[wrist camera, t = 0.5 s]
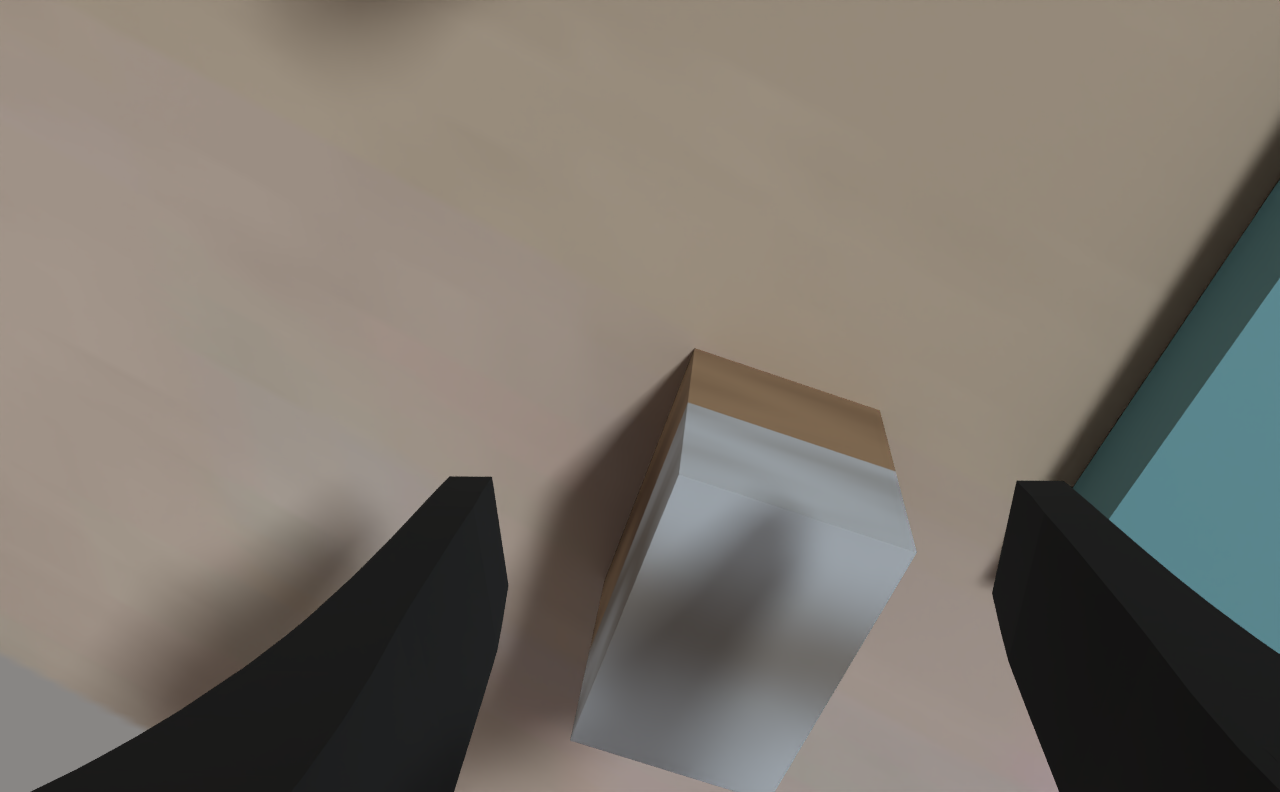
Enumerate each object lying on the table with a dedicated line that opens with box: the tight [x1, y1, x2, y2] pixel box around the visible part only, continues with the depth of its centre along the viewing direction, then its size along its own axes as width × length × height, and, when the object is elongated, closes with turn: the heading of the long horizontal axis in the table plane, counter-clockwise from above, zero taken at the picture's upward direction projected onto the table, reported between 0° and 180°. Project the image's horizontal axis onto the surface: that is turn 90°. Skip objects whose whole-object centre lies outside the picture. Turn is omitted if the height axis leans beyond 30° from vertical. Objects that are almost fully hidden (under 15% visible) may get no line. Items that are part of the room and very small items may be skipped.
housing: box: [570, 349, 917, 792], centre depth 23 cm, size 8×5×6 cm, turn 162°
